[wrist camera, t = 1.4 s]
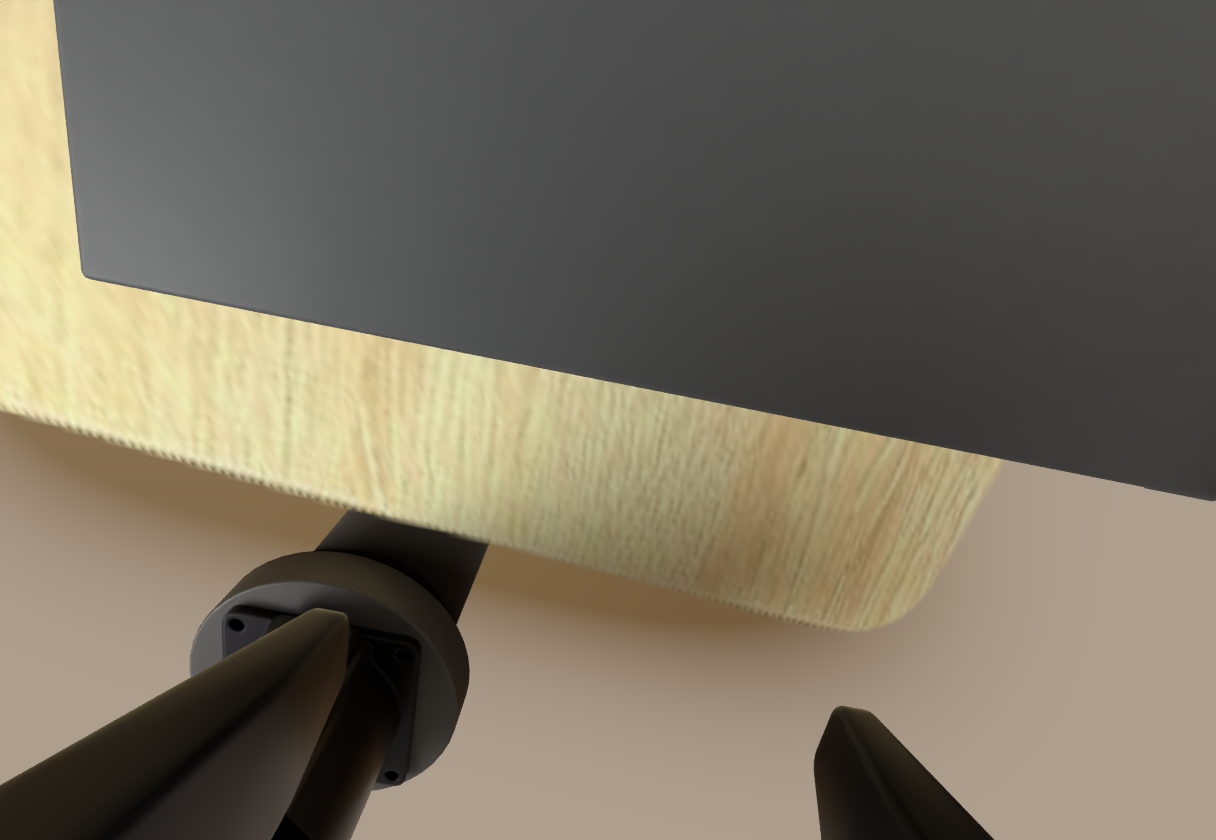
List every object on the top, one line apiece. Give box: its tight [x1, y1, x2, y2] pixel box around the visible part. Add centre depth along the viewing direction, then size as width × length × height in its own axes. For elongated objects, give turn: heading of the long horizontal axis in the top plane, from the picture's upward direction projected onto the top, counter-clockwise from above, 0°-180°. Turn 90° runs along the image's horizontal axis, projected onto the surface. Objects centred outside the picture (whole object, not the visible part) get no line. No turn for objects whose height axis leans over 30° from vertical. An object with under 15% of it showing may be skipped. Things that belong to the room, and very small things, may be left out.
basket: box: [53, 0, 1216, 501], centre depth 11 cm, size 8×12×13 cm, turn 79°
